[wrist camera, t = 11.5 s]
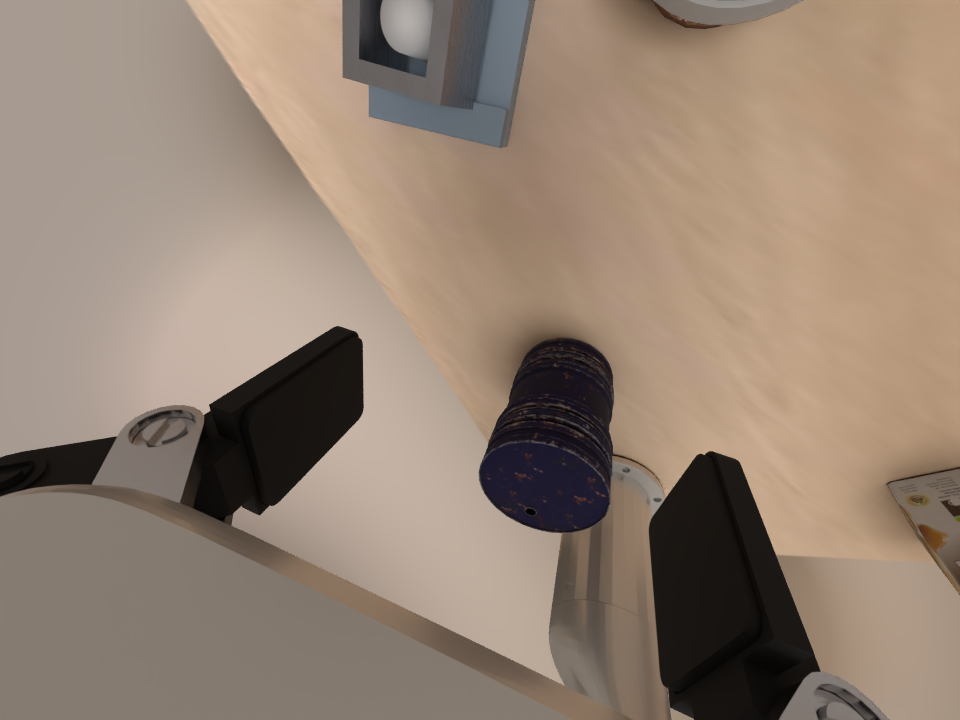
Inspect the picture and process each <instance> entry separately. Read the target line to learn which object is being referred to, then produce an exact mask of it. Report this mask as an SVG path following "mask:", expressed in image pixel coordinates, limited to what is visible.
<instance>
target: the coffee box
mask: <svg viewBox="0 0 960 720" xmlns="http://www.w3.org/2000/svg"><path fill="white" fill-rule="evenodd" d="M888 487H889V489H890V491H891V493H892V494H893V496H894V497H895V499H896V501H897V502H898V504H899V506H900V507H901V509H902V511H903V513H904V514H905V516H906V518H907V519H908V521H909V523H910V525H911V526H912V528H913V530H914V531H915V533H916V535H917V536H918V538H919V540H920V541H921V543H922V544H923V546H924V547H925V548H926V550H927V551H928V552H929V554H930V555H931V557H932V558H933V559H934V561H935V562H936V563H937V565H938V566H939V568H940V569H941V570H942V572H943V573H944V574H945V576H946V577H947V578H948V580H949V581H950V582H951V584H952V585H953V587H954V588H955V589H956V591H957V592H958V593H959V595H960V469H956V470H951V471H946V472H941V473H936V474H931V475H926V476H921V477H916V478H911V479H906V480H901V481H896V482H891V483H889V484H888Z"/></svg>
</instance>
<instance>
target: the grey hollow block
mask: <svg viewBox="0 0 960 720" xmlns="http://www.w3.org/2000/svg"><path fill="white" fill-rule="evenodd" d="M382 1H383V0H343V77H344V78H347V79H351V80H354V81H357V82H361V83H364V84H368V85H371V86H375V87H378V88H382V89H385V90H388V91H392V92H395V93H399V94H402V95H406V96H409V97H413V98H416V99H419V100H423V101H426V102H430V103H433V104H437V105H440V106H448V107H455V108H462V109H470V110H473V105H474V99H475V94H476V88H477V82H478V77H479V71H480V65H481V59H482V54H483V48H484V42H485V36H486V31H487V25H488V19H489V13H490V8H491V2H492V0H434V5H433V14H432V24H431V33H430V43H429V52H428V62H427V71H426V77H422V76H419V75H415V74H412V73H408V72H406V69H407V56H408V55H405V54H402V53H399V52H397V51H396V50H394V49H393V48H392V47H391V46H390V45H389V43H388V42H387V40H386V38H385V36H384V34H383V31H382V27H381V20H380V11H381V5H382Z"/></svg>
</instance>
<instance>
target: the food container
mask: <svg viewBox="0 0 960 720" xmlns="http://www.w3.org/2000/svg"><path fill="white" fill-rule="evenodd" d="M652 1H653V2H654V4H655V5H656V6H657V8H658V9H659V10H660V11H661V13H662V14H663V15H664V17H666V18H668V19H670V20H672V21H674V22H676V23H678V24H680V25H682V26H684V27H685V28H700V29H707V28H713V27H719V26H722V25H732V24H738V23H743V22H749V21H754V20H758V19H761V18H764V17H767V16H769V15H772V14H775V13H778V12H781V11H783V10H785V9H787V8H789V7H791V6H793V5H795V4H797V3H799V2H801V1H803V0H652Z"/></svg>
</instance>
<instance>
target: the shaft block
mask: <svg viewBox="0 0 960 720" xmlns="http://www.w3.org/2000/svg"><path fill="white" fill-rule="evenodd" d="M534 2H535V0H492V2H491V8H490V13H489V19H488V25H487V31H486V36H485V42H484V48H483V54H482V59H481V65H480V71H479V77H478V82H477V88H476V94H475V99H474V105H473V110H470V109H462V108H455V107H448V106H440V105H437V104H433V103H430V102H426V101H423V100H419V99H416V98H413V97H409V96H406V95H402V94H399V93H395V92H392V91H388V90H385V89H382V88H378V87H375V86H371V85H369V117H373V118H377V119H381V120H385V121H390V122H394V123H398V124H402V125H406V126H411V127H415V128H419V129H423V130H427V131H431V132H436V133H440V134H444V135H448V136H452V137H457V138H461V139H465V140H469V141H473V142H478V143H482V144H486V145H490V146H494V147H499V148H501V147H507V144H508V138H509V133H510V128H511V123H512V117H513V112H514V107H515V102H516V96H517V91H518V86H519V81H520V75H521V70H522V65H523V60H524V54H525V49H526V44H527V39H528V33H529V28H530V23H531V18H532V13H533V7H534ZM433 5H434V0H383V1H382V5H381V11H380V20H381V27H382V31H383V34H384V36H385V38H386V40H387V42H388V43H389V45H390V46H391V47H392V48H393V49H394V50H396V51H397V52H399V53H402V54H405V55H408V56H407V69H406V72H408V73H412V74H415V75H419V76H422V77H426V71H427V62H428V52H429V43H430V33H431V24H432V14H433Z"/></svg>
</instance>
